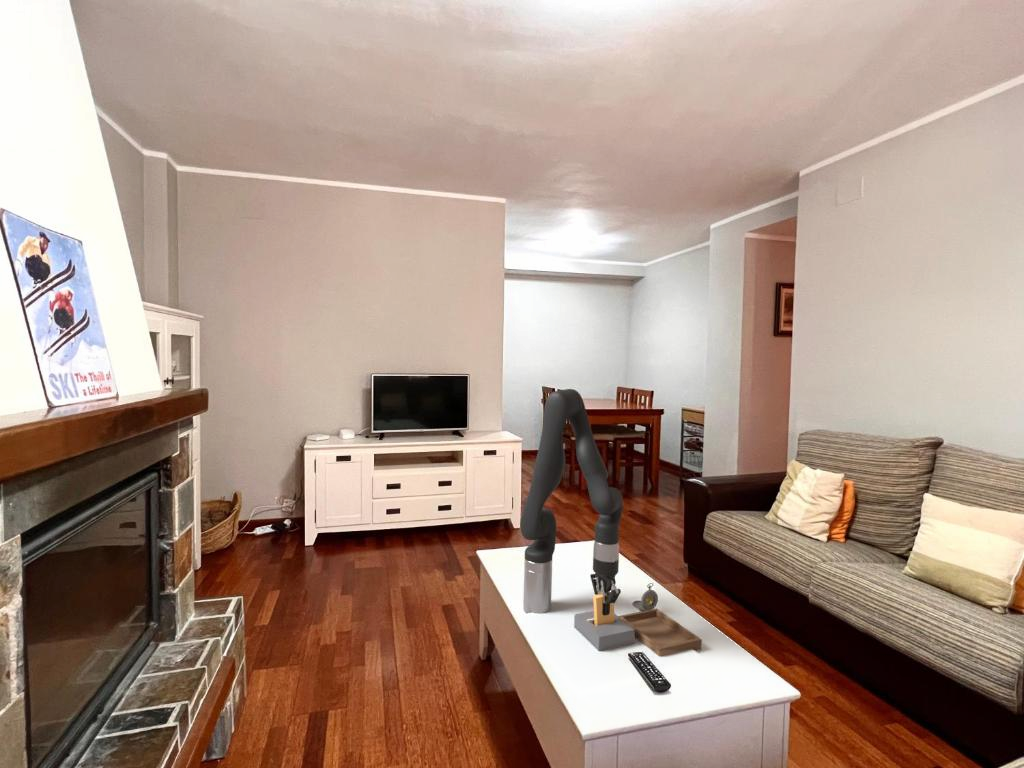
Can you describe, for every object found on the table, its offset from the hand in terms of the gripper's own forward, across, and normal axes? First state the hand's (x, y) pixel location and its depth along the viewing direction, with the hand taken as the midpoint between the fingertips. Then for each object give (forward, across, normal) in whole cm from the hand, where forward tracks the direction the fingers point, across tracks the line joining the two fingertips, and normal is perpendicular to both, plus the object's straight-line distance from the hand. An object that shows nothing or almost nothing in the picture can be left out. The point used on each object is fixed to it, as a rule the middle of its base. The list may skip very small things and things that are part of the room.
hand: (604, 613), depth 151 cm
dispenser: (+8, 0, 0) cm, 8 cm away
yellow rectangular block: (+4, 0, 0) cm, 4 cm away
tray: (+8, +5, +16) cm, 18 cm away
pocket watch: (+8, -11, +23) cm, 27 cm away
